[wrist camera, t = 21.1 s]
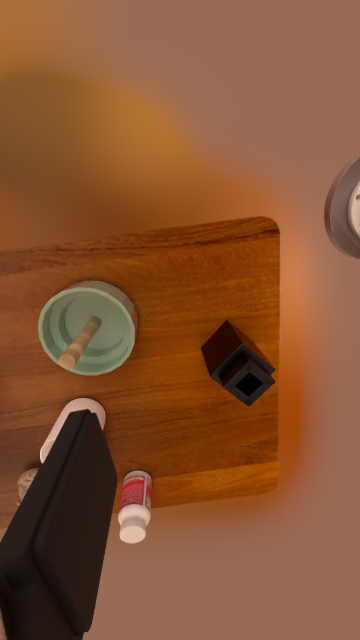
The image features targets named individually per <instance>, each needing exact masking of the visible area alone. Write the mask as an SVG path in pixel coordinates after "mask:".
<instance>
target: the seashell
mask: <svg viewBox="0 0 360 640" xmlns="http://www.w3.org/2000/svg"><path fill="white" fill-rule="evenodd" d="M38 469H39V468H34V469H30V470H28V471H26V472H24V473H23V474H22V475H21V476H20V477H19V479H18V486H19V497H20V500H18V501H17V504H19V505H20V504H21V502H22V500H23V498H24V496H25V494H26V492H27V490H28V488H29V486H30V485H31V483H32V481H33V479H34V477H35V475H36V473H37V471H38Z"/></svg>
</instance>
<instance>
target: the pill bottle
mask: <svg viewBox="0 0 360 640" xmlns="http://www.w3.org/2000/svg"><path fill="white" fill-rule="evenodd" d="M151 492H152V479H151V477H150V475H149V474H147V473H146V472H144V471H133V472H130V473H129V474H127V475H126V477H125V478H124V482H123V488H122V495H121V501H120V508H119V515H118V520H119V523H120V525H121V527H120V538H121V540H123V541H124V542H126V543H137V542H140V541H141V540H143V539H144V537H145V534H146V526H147V525H148V523H149V521H150V516H151Z"/></svg>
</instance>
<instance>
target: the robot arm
mask: <svg viewBox="0 0 360 640" xmlns="http://www.w3.org/2000/svg"><path fill="white" fill-rule="evenodd" d="M348 221H349V225H350V228H351V230H352V232H353V233H354V234H355V235H356V236H357V237H358V238H359V239H360V181H359V182H358V184H357V185H356V186H355V188H354V190H353V192H352V194H351V197H350V200H349V204H348ZM116 488H117V473H116V469H115V466H114V464H113V461H112V458H111V455H110V452H109V449H108V446H107V443H106V440H105V437H104V434H103V431H102V428H101V425H100V422H99V419H98V416H97V414H96V413H95V412H93V413H91V411H90V410H89V409H84V410H78V411H73V412H70V413H69V414H68V416H67V418H66V420H65V422H64V424H63V426H62V428H61V430H60V432H59V434H58V436H57V437H56V439H55V441H54V443H53V445H52V447H51V449H50V451H49V453H48V455H47V457H46V459H45V461H44V462H43V463H42V465H41V466H40V467H39V469H38V471H37V473H36V475H35V477H34V479H33V481H32V483H31V485H30V486H29V488H28V490H27V492H26V494H25V496H24V498H23V500H22V502H21V504H20V506H19V508H18V509H17V511H16V513H15V515H14V517H13V519H12V521H11V523H10V525H9V527H8V529H7V531H6V533H5V535H4V537H3V538H2V540H1V542H0V640H82V639H83V634H84V632H88V631H89V629H90V627H91V624H92V620H93V615H94V609H95V604H96V598H97V593H98V587H99V581H100V576H101V571H102V565H103V559H104V554H105V549H106V542H107V537H108V532H109V527H110V521H111V515H112V510H113V504H114V499H115V493H116Z"/></svg>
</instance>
